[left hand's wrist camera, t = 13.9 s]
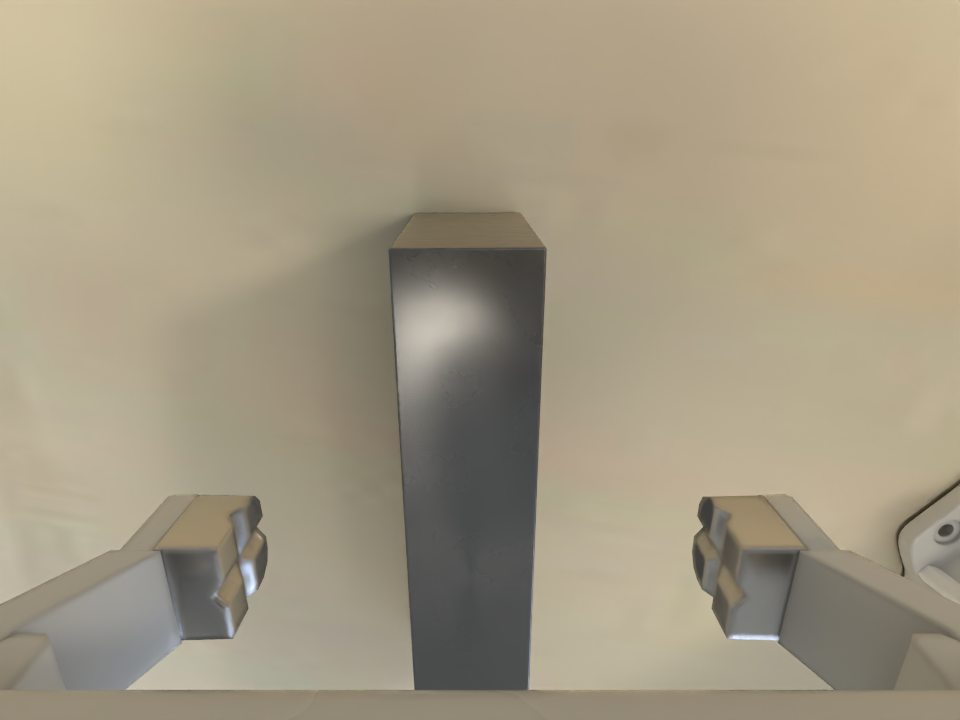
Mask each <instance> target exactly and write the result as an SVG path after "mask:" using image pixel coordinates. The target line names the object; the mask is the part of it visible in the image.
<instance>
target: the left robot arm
mask: <svg viewBox="0 0 960 720" xmlns="http://www.w3.org/2000/svg"><path fill="white" fill-rule="evenodd" d="M262 516H263V515H262V510H261V505H260V500H259V499H258V498H256V497H255V496H236V495H173V496H169V497H168V498H167V499H166V500H165V501H164V502H163V503H162V504H161V505H160V506H159V507H158V509H157V510H156V511H155V512H154V513H153V514H152V515H151V516H150V517H149V518H148V520H147V521H146V522H145V523H144V524H143V525H142V526H141V527H140V528H139V530H138V531H137V532H136V533H135V534H134V535H133V536H132V537H131V538H130V539H129V541H128V542H127V543H126V544H125V545H124V546H123V547H122V548H121V549H120V550H119V551H109V552H107V553H105V554H102V555H100V556H98V557H96V558H94V559H92V560H90V561H88V562H86V563H84V564H82V565H80V566H78V567H76V568H74V569H72V570H70V571H68V572H66V573H64V574H62V575H60V576H58V577H55V578H53V579H51V580H49V581H47V582H45V583H43V584H41V585H39V586H37V587H35V588H33V589H31V590H29V591H27V592H25V593H23V594H21V595H19V596H17V597H15V598H13V599H11V600H9V601H6V602H4V603H2V604H0V720H960V485H958V486H957V487H956V488H954V489H953V490H952V491H950V492H949V493H948V494H946V495H945V496H944V497H942V498H941V499H940V500H938V501H937V502H936V503H934V504H933V505H932V506H930V507H929V508H928V509H926V510H925V511H924V512H922V513H921V514H920V515H918V516H917V517H916V518H914V519H913V520H912V521H910V522H909V523H908V524H907V525H906V526H905V527H904V528H903V529H902V530H901V532H900V534H899V538H898V546H899V551H900V555H901V559H902V562H903V565H904V568H905V575H904V577H902V576H900V575H898V574H896V573H894V572H892V571H890V570H888V569H886V568H884V567H882V566H880V565H878V564H876V563H874V562H872V561H870V560H868V559H866V558H864V557H862V556H860V555H858V554H855V553H853V552H851V551H841V550H840V549H839V548H838V547H837V546H836V545H835V544H834V543H833V542H832V541H831V539H830V538H829V537H828V536H827V535H826V534H825V533H824V532H823V531H822V530H821V528H820V527H819V526H818V525H817V524H816V523H815V522H814V521H813V520H812V518H811V517H810V516H809V515H808V514H807V513H806V512H805V511H804V510H803V509H802V507H801V506H800V505H799V504H798V503H797V502H796V501H795V500H794V499H793V498H792V497H790V496H788V495H786V494H779V495H758V496H714V497H703V498H702V500H701V502H700V504H699V509H698V515H697V516H698V518H699V520H700V521H701V523H702V525H703V528H702V529H701V530H700V531H699V532H698V533H697V534H696V535H695V536H694V542H693V550H692V555H693V566H694V570H695V574H696V577H697V580H698V582H699V584H700V586H701V588H702V590H704V591H705V592H707V593H708V594H709V595H711V596H712V597H714V598H713V604H712V610H713V612H714V614H715V616H716V618H717V620H718V622H719V624H720V626H721V628H722V629H723V631H724V633H725V635H726V637H727V639H755V640H779V641H778V643H779V644H780V645H782V646H783V647H784V648H785V649H787V650H788V651H789V652H790V653H791V654H793V655H794V656H795V657H796V658H797V659H799V660H800V661H801V662H802V663H803V664H805V665H806V666H807V667H808V668H809V669H811V670H812V671H813V672H814V673H815V674H817V675H818V676H819V677H820V678H821V679H823V680H824V681H825V682H826V683H827V684H829V685H830V686H831V687H832V688H833V689H835V690H125V689H127V688H128V687H129V686H130V685H132V684H133V683H134V682H135V681H136V680H138V679H139V678H140V677H141V676H142V675H144V674H145V673H146V672H147V671H148V670H150V669H151V668H152V667H153V666H154V665H156V664H157V663H158V662H159V661H160V660H162V659H163V658H164V657H165V656H167V655H168V654H169V653H170V652H171V651H173V650H174V649H175V648H176V647H177V646H179V645H180V644H181V643H182V641H181V640H204V639H233V637H234V635H235V634H236V632H237V630H238V628H239V626H240V624H241V622H242V620H243V618H244V616H245V614H246V612H247V610H248V604H247V598H246V597H248V596H249V595H251V594H252V593H253V592H255V591H256V590H258V588H259V586H260V584H261V582H262V580H263V578H264V574H265V569H266V565H267V549H268V548H267V541H266V536H265V535H264V534H263V533H262V532H261V531H260V530H259V529H258V528H257V525H258V523H259V521H260V520H261V518H262Z"/></svg>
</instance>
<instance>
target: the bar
mask: <svg viewBox="0 0 960 720" xmlns="http://www.w3.org/2000/svg"><path fill="white" fill-rule="evenodd" d="M389 264H390V281H391V298H392V315H393V332H394V349H395V366H396V383H397V400H398V417H399V434H400V451H401V468H402V485H403V502H404V519H405V536H406V553H407V570H408V587H409V604H410V621H411V638H412V655H413V671H414V688H415V690H529V673H530V648H531V623H532V598H533V573H534V548H535V523H536V498H537V473H538V448H539V423H540V399H541V374H542V349H543V324H544V299H545V274H546V247H545V246H544V245H543V243H542V242H541V241H540V239H539V238H538V236H537V235H536V234H535V232H534V231H533V230H532V228H531V227H530V225H529V224H528V223H527V221H526V220H525V219H524V217H523V216H522V214H521V213H415V214H414V215H413V217H412V218H411V219H410V221H409V222H408V224H407V225H406V226H405V228H404V229H403V230H402V232H401V233H400V235H399V236H398V237H397V239H396V240H395V241H394V243H393V244H392V246H391V247H390V248H389Z"/></svg>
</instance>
